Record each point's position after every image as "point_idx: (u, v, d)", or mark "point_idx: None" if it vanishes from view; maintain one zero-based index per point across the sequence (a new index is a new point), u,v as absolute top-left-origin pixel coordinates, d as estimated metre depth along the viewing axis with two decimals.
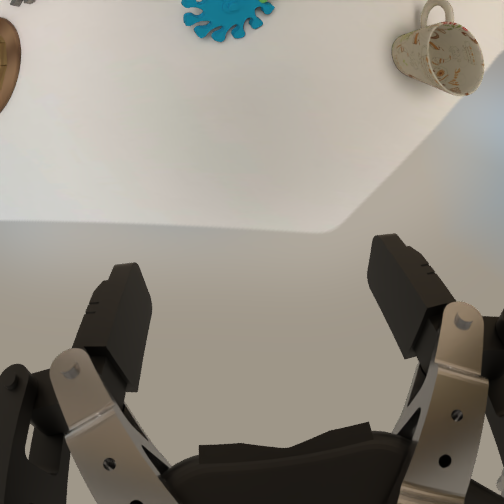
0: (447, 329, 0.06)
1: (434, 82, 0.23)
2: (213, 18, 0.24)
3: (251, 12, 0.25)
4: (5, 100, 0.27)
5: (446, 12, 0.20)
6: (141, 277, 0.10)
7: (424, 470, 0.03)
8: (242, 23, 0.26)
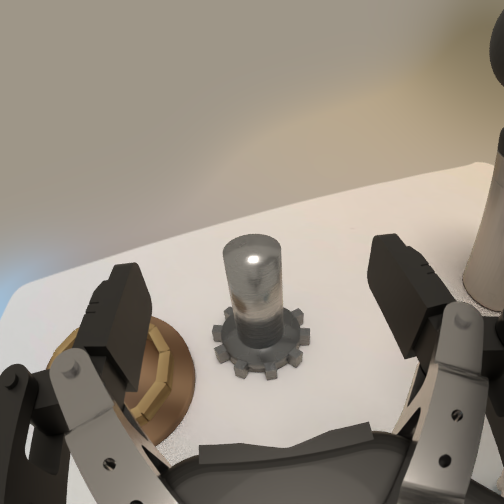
0: (447, 329, 0.06)
1: None
2: None
3: None
4: None
5: None
6: (141, 277, 0.10)
7: (424, 470, 0.03)
8: None
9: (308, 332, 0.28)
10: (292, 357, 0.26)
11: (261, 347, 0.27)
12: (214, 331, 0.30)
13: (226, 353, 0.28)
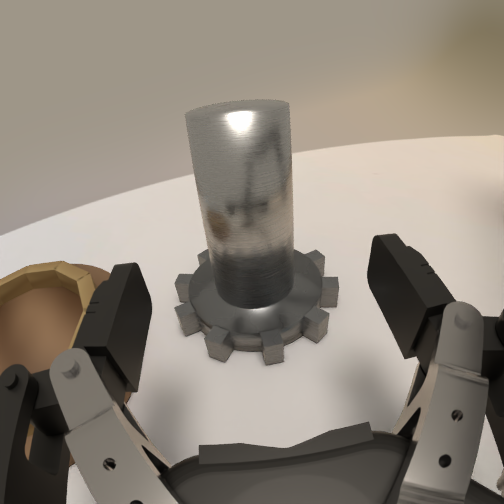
0: (447, 329, 0.06)
1: None
2: None
3: None
4: None
5: None
6: (141, 277, 0.10)
7: (424, 470, 0.03)
8: None
9: (336, 282, 0.17)
10: (311, 322, 0.15)
11: (255, 305, 0.16)
12: (178, 283, 0.18)
13: (194, 317, 0.16)
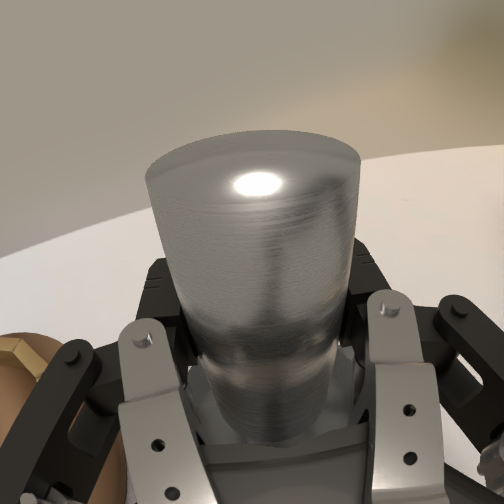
0: (375, 322, 0.06)
1: None
2: None
3: None
4: None
5: None
6: None
7: (391, 473, 0.03)
8: None
9: None
10: None
11: (275, 440, 0.10)
12: None
13: None
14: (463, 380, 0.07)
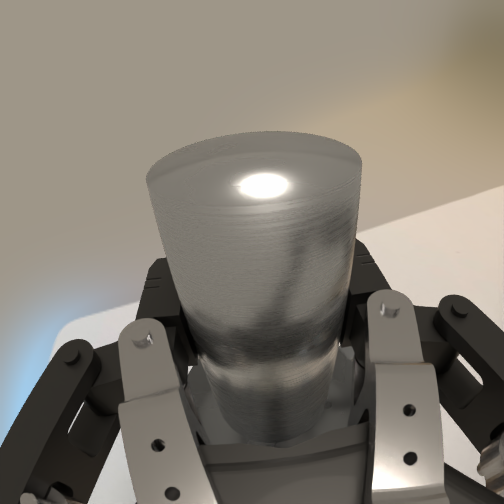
0: (375, 322, 0.06)
1: None
2: None
3: None
4: None
5: None
6: None
7: (391, 473, 0.03)
8: None
9: None
10: None
11: (275, 440, 0.10)
12: None
13: None
14: (463, 380, 0.07)
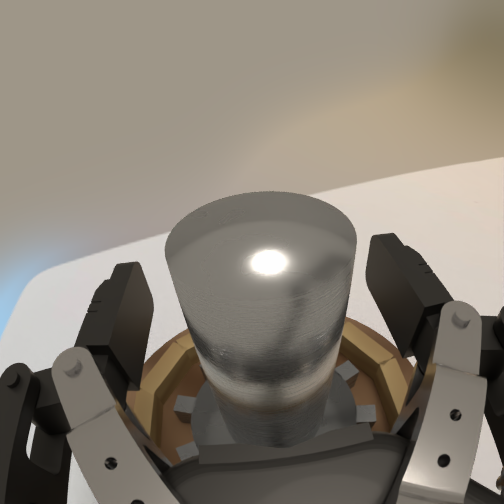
0: (445, 328, 0.06)
1: None
2: None
3: None
4: None
5: None
6: (143, 276, 0.10)
7: (423, 470, 0.03)
8: None
9: (373, 414, 0.12)
10: None
11: None
12: (178, 409, 0.13)
13: None
14: None
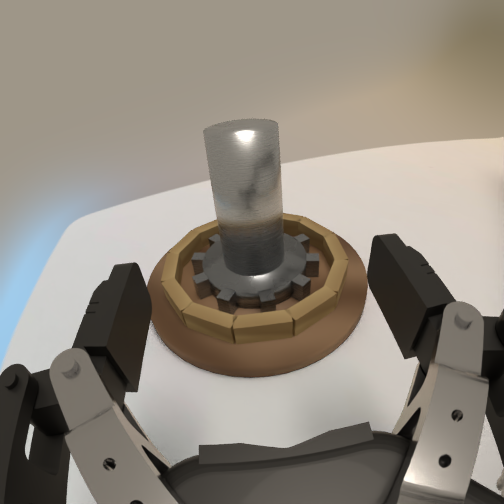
0: (447, 329, 0.06)
1: None
2: None
3: None
4: (285, 366, 0.17)
5: None
6: (141, 277, 0.10)
7: (424, 470, 0.03)
8: None
9: (317, 257, 0.22)
10: (297, 285, 0.20)
11: (254, 273, 0.21)
12: (194, 259, 0.23)
13: (208, 283, 0.21)
14: None
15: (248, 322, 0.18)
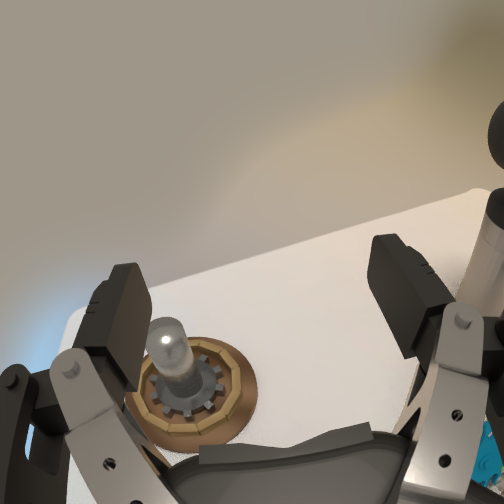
0: (447, 329, 0.06)
1: None
2: None
3: (488, 477, 0.18)
4: (195, 450, 0.28)
5: None
6: (141, 277, 0.10)
7: (424, 470, 0.03)
8: None
9: (222, 387, 0.33)
10: (205, 407, 0.31)
11: (182, 397, 0.32)
12: (151, 380, 0.35)
13: (158, 398, 0.33)
14: None
15: (175, 429, 0.29)
